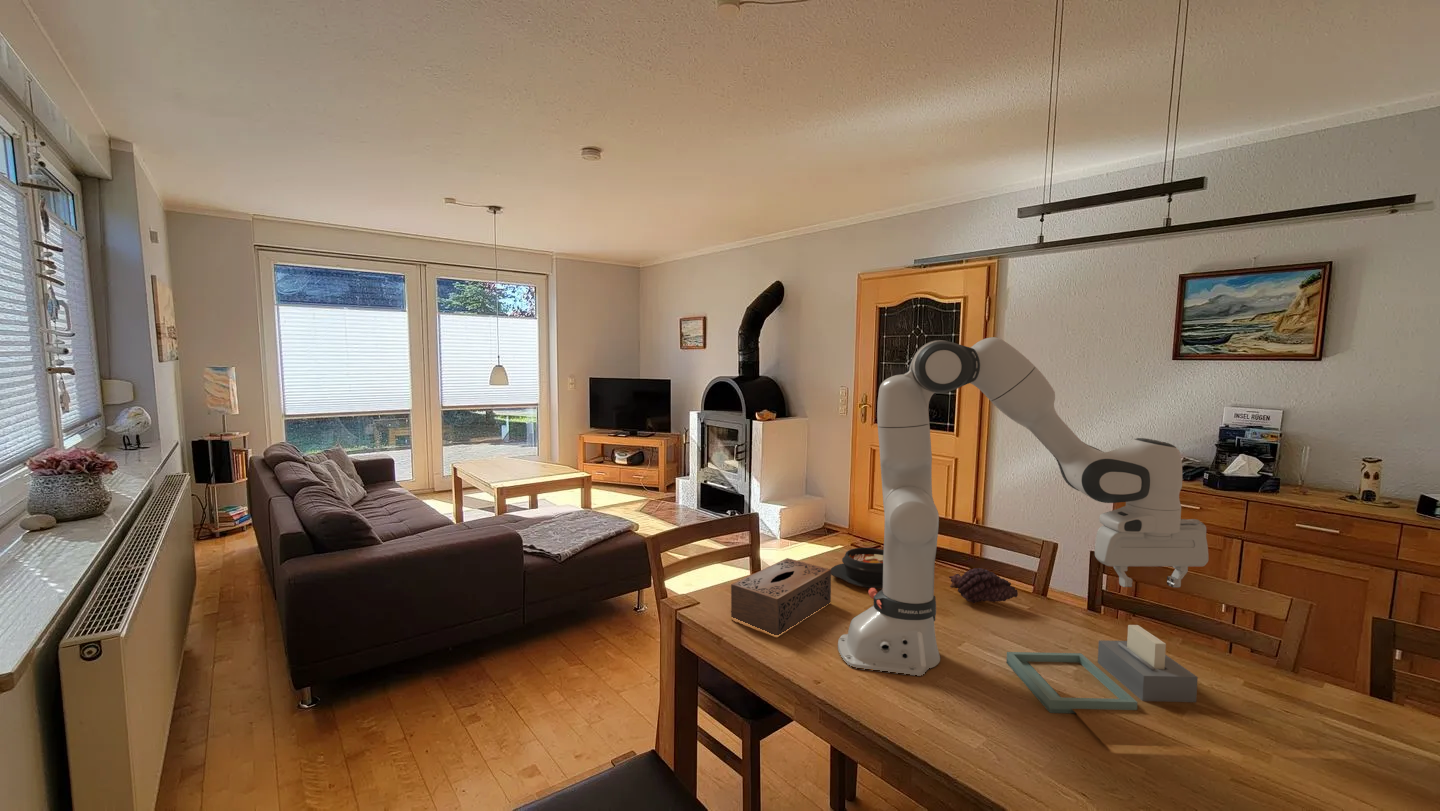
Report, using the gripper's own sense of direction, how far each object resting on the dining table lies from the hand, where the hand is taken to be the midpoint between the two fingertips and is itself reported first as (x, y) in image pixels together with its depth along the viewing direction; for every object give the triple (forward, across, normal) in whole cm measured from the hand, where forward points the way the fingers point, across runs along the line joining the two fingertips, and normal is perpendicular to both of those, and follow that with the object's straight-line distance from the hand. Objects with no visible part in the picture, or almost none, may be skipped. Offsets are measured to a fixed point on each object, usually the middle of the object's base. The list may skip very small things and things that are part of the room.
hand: (1149, 586), depth 114 cm
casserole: (+21, +44, -54) cm, 73 cm away
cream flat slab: (+20, 0, 0) cm, 20 cm away
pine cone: (+21, +17, -39) cm, 48 cm away
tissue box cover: (+21, +72, -32) cm, 82 cm away
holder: (+21, 0, 0) cm, 21 cm away
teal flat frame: (+21, +16, +1) cm, 27 cm away
